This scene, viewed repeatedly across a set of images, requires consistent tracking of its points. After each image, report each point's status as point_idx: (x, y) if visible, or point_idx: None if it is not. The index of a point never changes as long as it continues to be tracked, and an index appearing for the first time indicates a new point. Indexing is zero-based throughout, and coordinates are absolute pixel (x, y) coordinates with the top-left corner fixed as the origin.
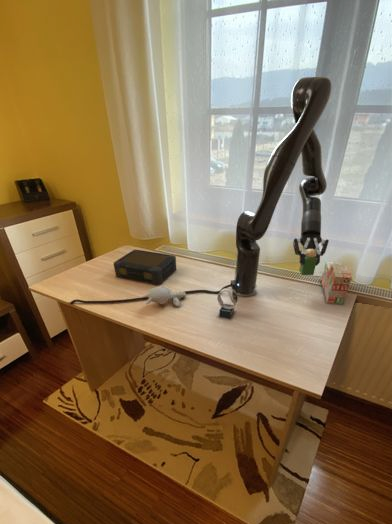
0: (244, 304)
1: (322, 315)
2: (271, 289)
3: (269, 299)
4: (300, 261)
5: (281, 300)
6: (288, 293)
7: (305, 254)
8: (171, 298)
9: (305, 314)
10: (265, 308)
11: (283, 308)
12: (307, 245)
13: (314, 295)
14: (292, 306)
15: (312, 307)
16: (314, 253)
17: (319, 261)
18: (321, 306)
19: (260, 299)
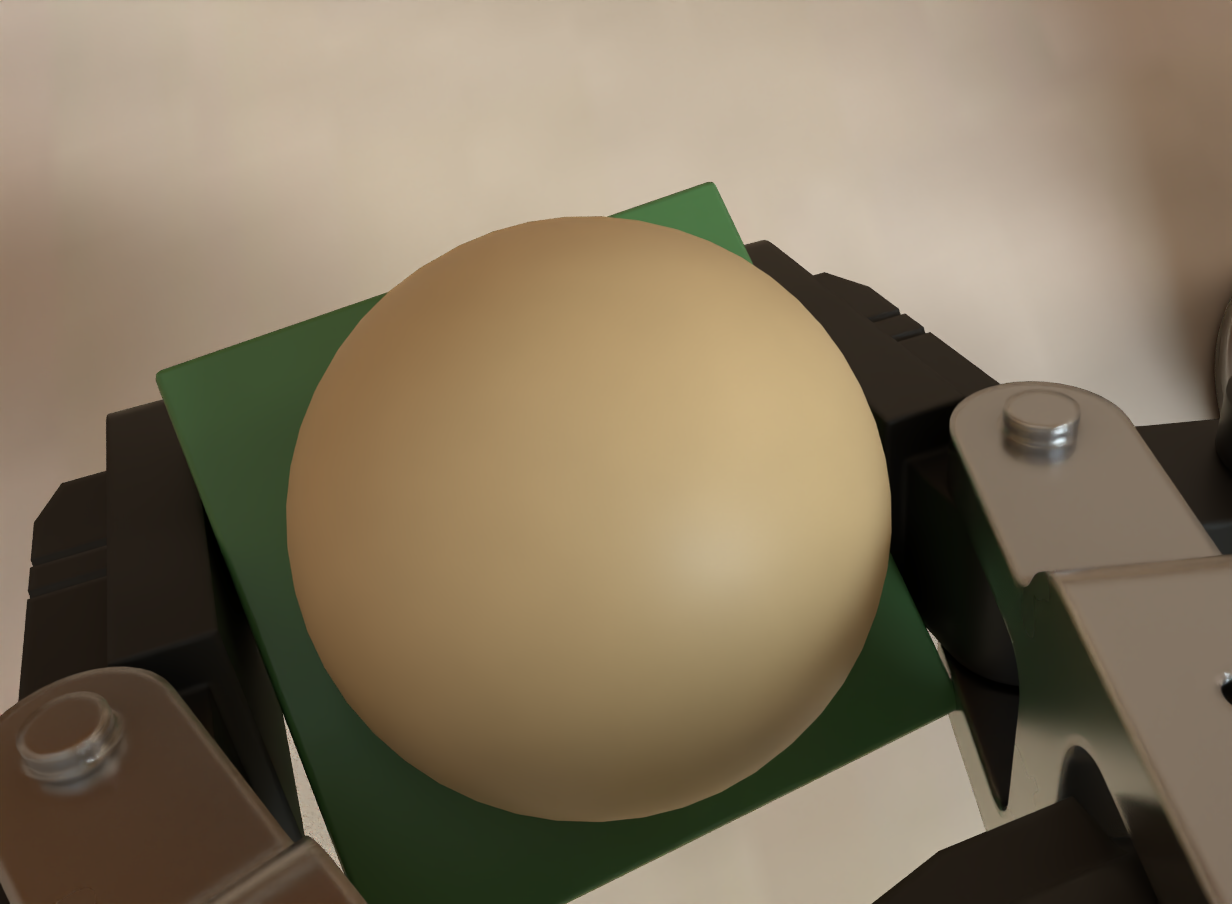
0: (1200, 32)
1: (3, 77)
2: None
3: (935, 296)
4: (854, 300)
5: None
6: None
7: (838, 716)
8: None
9: (290, 26)
10: (902, 15)
11: (656, 95)
12: (1134, 724)
13: None
14: (533, 200)
15: (192, 280)
16: (374, 307)
17: (53, 524)
18: (24, 372)
19: (1059, 247)
